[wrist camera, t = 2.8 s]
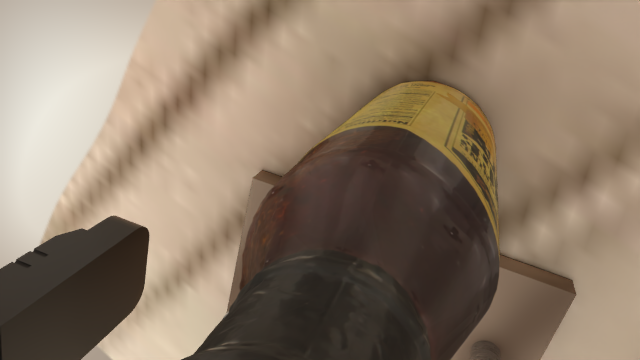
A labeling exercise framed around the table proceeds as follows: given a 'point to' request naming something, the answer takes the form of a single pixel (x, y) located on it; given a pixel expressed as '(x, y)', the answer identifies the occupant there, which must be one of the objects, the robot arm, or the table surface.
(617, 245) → the table surface
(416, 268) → the sauce bottle
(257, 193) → the board
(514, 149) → the table surface
